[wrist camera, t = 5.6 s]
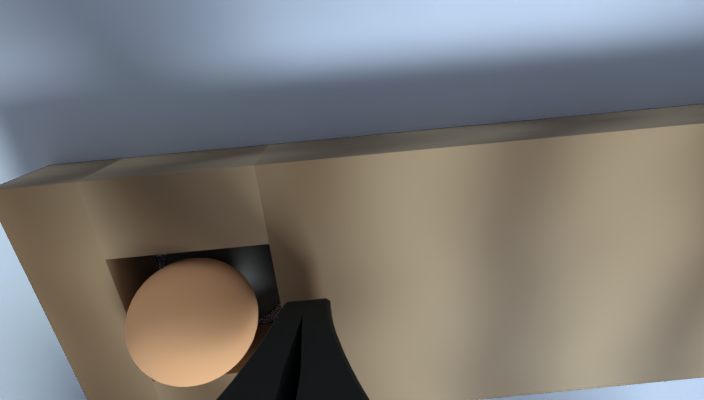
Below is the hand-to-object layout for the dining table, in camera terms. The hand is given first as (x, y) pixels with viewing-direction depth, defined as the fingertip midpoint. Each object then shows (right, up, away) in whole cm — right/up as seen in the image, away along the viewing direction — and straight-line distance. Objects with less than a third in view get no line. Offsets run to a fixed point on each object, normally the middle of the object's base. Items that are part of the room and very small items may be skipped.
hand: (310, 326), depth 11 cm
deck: (+3, +2, +3) cm, 5 cm away
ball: (-4, 0, +1) cm, 4 cm away
